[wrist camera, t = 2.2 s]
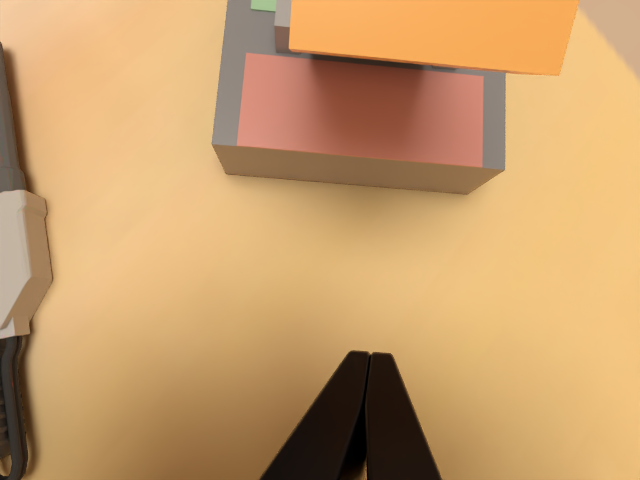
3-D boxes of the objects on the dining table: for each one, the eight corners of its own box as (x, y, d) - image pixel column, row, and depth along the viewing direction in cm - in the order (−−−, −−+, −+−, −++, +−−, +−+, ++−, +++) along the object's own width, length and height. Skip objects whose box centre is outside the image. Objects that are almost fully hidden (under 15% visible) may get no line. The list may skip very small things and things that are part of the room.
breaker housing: (467, 194, 22) (527, 155, 17) (226, 173, 22) (202, 126, 16) (470, 13, 24) (526, -80, 18) (245, -11, 23) (230, -115, 18)
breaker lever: (429, 70, 19) (559, 76, 9) (299, 57, 19) (288, 48, 9) (440, 3, 18) (598, -73, 8) (304, -12, 18) (298, -109, 8)
